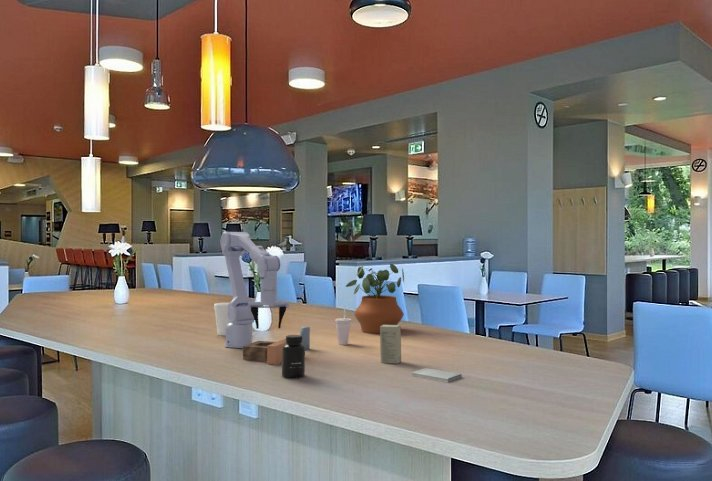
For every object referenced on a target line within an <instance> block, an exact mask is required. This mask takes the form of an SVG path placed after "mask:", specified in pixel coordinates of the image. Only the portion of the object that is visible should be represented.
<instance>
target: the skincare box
mask: <svg viewBox="0 0 712 481" xmlns="http://www.w3.org/2000/svg"><path fill="white" fill-rule="evenodd" d="M401 326H402V325H401V324H398V325H382V326H380V334H379V337H380V338H379V339H380V341H379V342H380V363H384V364H399V363H400V362H402V332H401V329H402V327H401Z"/></svg>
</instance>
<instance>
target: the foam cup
mask: <svg viewBox="0 0 712 481" xmlns="http://www.w3.org/2000/svg"><path fill="white" fill-rule="evenodd" d="M229 303H230V302H217V303H214V304H213V310H214V316H215V324H216V332H217V335H218V336H223V337H224V336H225V337H226V327H227V325H228V324H229V323H231V321H230V320H229V318H228V304H229Z"/></svg>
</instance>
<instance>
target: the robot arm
mask: <svg viewBox="0 0 712 481" xmlns="http://www.w3.org/2000/svg"><path fill="white" fill-rule="evenodd" d="M219 243H220V248H221V252H222V255H223V256H224V258H225V263H226V269H227V273H228V280H229V284H230V290H231V294H232V300H231V301H230V302H228V303H229V304H228V318H229V320H230V321H231V323H229V324H228V325H227V327H226V335H225V345H224V347H225V348H233V349H234V348H235V349H243V346H245V345H248V344H251V343H253V323H255V328H256V329H258V330H259V327H260V326H259V309H264V308H265V309H266V308H267V309H271V308H272V309H275V308H278V329H281V325H282V322H283V318H284V316H285V313H286V310H287V309H289V308H290V301H278V300H277V299H278V293H277V292H278V272H279V270H280V268H281V259H280V258H279V257H278V256H277V255H271V254H270V252H267V250H266V249H264V246H262V245H256V244H255V243H254V242H253V241H252V240H251V235H250V234H249V233H248V232H247V231H223V232H222V234H221V237H220V241H219ZM245 252H247V253H249V255H248V256H249V258H250V259H251V260H252V261H253V262H254V263H255V264H256V265H257V266H256V267H257V271H258V274H259V275H258V276H259V278H260V301H254V300H253V299H252V298H250V297H249V296H248V295H247V289H246V285H245V280H244V276H243V270H242V266H241V262H240V257H241V256H242V255H244V254H245Z"/></svg>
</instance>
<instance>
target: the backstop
mask: <svg viewBox="0 0 712 481" xmlns="http://www.w3.org/2000/svg"><path fill="white" fill-rule="evenodd" d="M275 342H276V343H273V344H270V345H268V346H267V361H266V363H267V365H274V366H276V365H278V364H280V363H282V348H283V346H284V345H286V344H287V343H286V338H284V339H281V340H279V341H275Z"/></svg>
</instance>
